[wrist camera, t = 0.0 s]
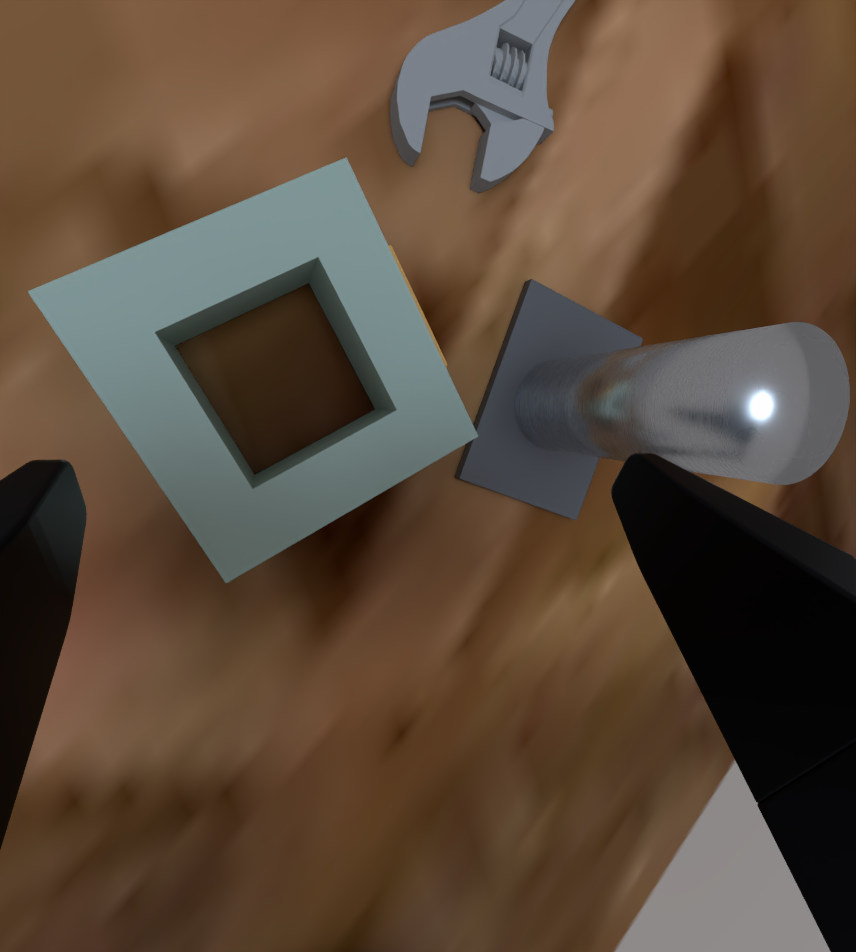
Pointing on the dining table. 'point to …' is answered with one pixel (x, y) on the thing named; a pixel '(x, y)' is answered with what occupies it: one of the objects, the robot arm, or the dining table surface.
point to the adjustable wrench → (483, 84)
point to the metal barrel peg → (698, 403)
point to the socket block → (230, 295)
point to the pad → (499, 436)
